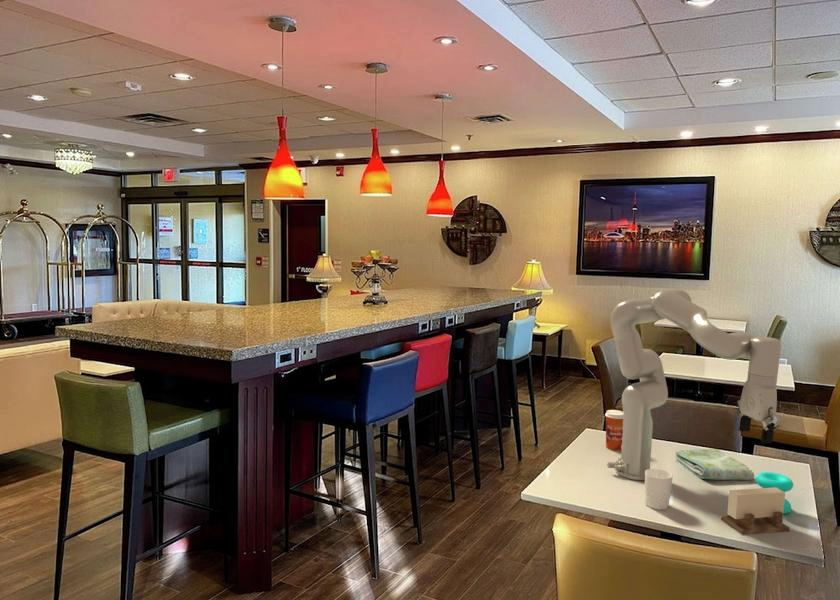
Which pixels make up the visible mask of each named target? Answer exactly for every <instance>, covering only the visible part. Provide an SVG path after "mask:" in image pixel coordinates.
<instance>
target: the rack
mask: <svg viewBox="0 0 840 600" xmlns="http://www.w3.org/2000/svg"><path fill="white" fill-rule="evenodd" d="M783 517H784V514H783V513H782V512H780V511H779V512H774V514H773V517H763V518H754V515H753V514H752V513H748V514H745V519H734V518H733V517H732V516H730V515H729V514H727V515H722V516H720V521H722V522H724V523H725V524H726V525H728V526H729V527H730V528H732V529H733V530H735V531H736V532H738V533H739V534H740V535H751V534H765V533H779V532H780V533H781V532H790V530H791V528H790V526H788V525H786V524H785V523H784V521H783V520H784V519H783Z"/></svg>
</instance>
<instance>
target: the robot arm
mask: <svg viewBox="0 0 840 600" xmlns="http://www.w3.org/2000/svg"><path fill="white" fill-rule="evenodd" d="M665 319H666V320H667V321H670V322H671V323H673V324H675V325H676V326H677V327H680V328H681V329H683V330H684V331H686V332H687V333H689V334H690V336H691V338H692V339H693V340H694V341H695V342H696V343H697V344H698V345H699V346H700V347H702V348H703V349H705V350H707V351H708V352H710V353H712V354H714V355H715V356H717V357H718V358H721V359H724V360H726V361H727V360H729V361H730V360H731V361H732V360H736V359H741V358H747V357H749V359H748V370H747V377H746V379H747V380H745V382H744V384H743V388H742V390H741V391H742V392H741V396H740V397H741V398H740V399H739V400H737V405H738V413H739V414H738V415H739V418H740V420H739V428H738V431H740V432H750V430H751V423H752V420H754V421H756V422H761V423H762V426H763V428H762V430H761V438H760V442H761V444H773V440H774V431H776V429H777V428H778V427H779V425H780V422H781V421H782V418H781V417H780V416H779V414H778V413H777V406H778V404H777V402H778V398H777V397H778V395H777V392H778V390H777V385H778V383H777V382H778V374H779V366H780V358H781V352H782V351H781V350H782V342H781V341H780V340H779V339H778V338H775V337H770V336H760V335H756V334H754V333H751V332H747V331H735V332H731V333H728V332H726V331H725V330H722V329H720V328H718V326H715V325H714V324H712V323H711V322H710V321H709V319H708V312H707V311H706V309H705V308H703V307H701V306H699V305H697V304H695V303H694V302H693V301H692V298H691V296H690V294H689V293H688V292H687V291H685V290H683V289H679V288H675V289H674V288H672V289H664V290H660V291H658V292H657V293H655V295H653V296H651V297H643V298H632V299H626V300H623V301H622V302H620V303H618V304H617V305H616V306H615V307H614V308H613V310H612V312H611V314H610V319H609V321H610V329H611V333H612V335H613V340H614V344H615V348H616V349H615V350H616V353H617V359H618V364H619V369H620V371H621V372H620V373H621V374H622V376H623V377H625V378H626V379H628V380H638V379H639V382H634V383H631V384H630V385H628V386H627V387H625V389H624V390H623V392H622V395H621V404H622V412H623V436H622V447H621V456H620V457H619V458H618V459H617V460H616V461H615V462H614V461H613V462H612V461H608V462H607V464H606V466H607V468H608V469H614V470H615V472H616V474H617V475H619V476H621V477H623V478H625V479H628V480H629V479H630V480H633V481H645V470H647V469H651V457H652V456H651V455H652V444H653V443H652V442H653V426H654V425H653V417H652V414H651V410H652V409H655V408H658V407H661V406H662V405H665V403H666V402H667V400H668V397H669V392H668V391H669V390H668V386H667V381H666V375H665V372H664V371H665V370H664V366H663V362H662V360H661V358H660V356H659V354H658V353H657V352H655V351H654V350H652V349H649V348H643V344H642V343H643V342H642V338H641V335H640V333H639V331H638V330H637V329H636V327H635V326H636V325H638V324H639V325H640V324H641V325H642V324H646V323H647V324H648V323H654V322H658V321H661V320H665ZM768 423H769V424H768Z"/></svg>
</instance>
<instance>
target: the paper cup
mask: <svg viewBox="0 0 840 600" xmlns="http://www.w3.org/2000/svg"><path fill="white" fill-rule="evenodd" d="M604 415H605V448H606V449H607V450H611V451H622V436H623V410H618V409H608V410H606V413H605V414H604Z"/></svg>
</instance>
